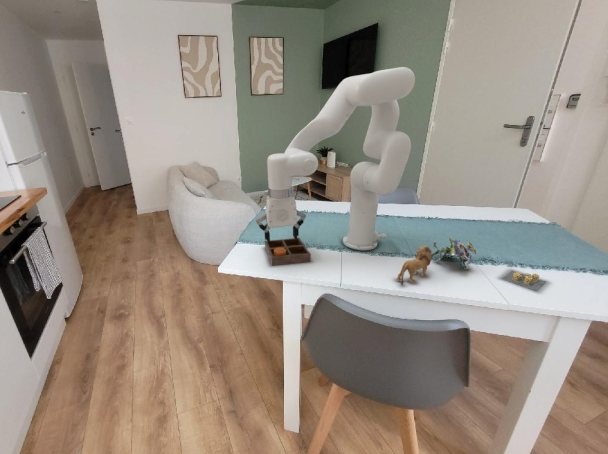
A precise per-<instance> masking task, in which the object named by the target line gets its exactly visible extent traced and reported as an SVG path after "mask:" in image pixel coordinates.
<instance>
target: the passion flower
mask: <svg viewBox="0 0 608 454" xmlns="http://www.w3.org/2000/svg"><path fill="white" fill-rule="evenodd" d="M449 242H450V245H449V246H445V247H442V248H441V249H439V248H438V247H437V246H436V244H437V243H436V241H435V242H433V248H435V249H437V250H436V251H435V252H433V253H431V254H432V256H431V257H433V256H436V255H437V254H439V257H438V259H437V261H436V263H439V262H440V261H442V260H445V258H447V257H449V259H451V258H456V259H457V258H459V260H460V262H459V265H460V267H461V269H462V270H463V271H466V270H469V266H468V265H470V264H472V257H473V255H472V253H473V254H475V255H476V254H477V251H476V249H475V248H474V246H473V244H472V243H471V242H468V243H467V245H466V246H465V243H463V242H462V241H461V240H458V239H455V240H454V239H453V236H450V237H449ZM470 252H471V253H470Z"/></svg>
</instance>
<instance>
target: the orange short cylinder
mask: <svg viewBox="0 0 608 454" xmlns="http://www.w3.org/2000/svg"><path fill="white" fill-rule="evenodd" d="M285 255H286V249H285V248H275V249H274V257H275V256H285Z"/></svg>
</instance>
